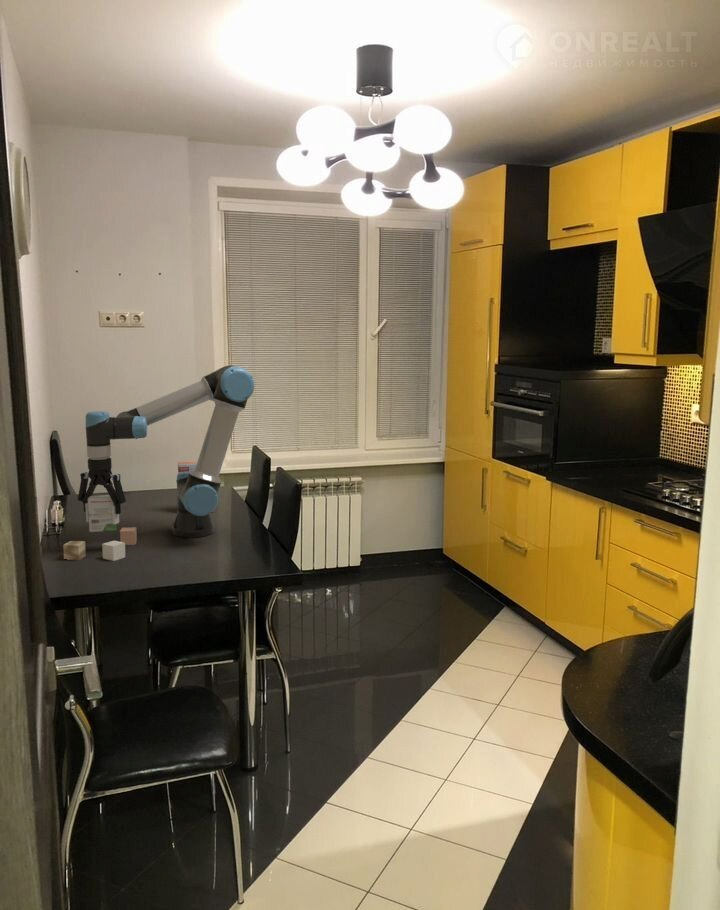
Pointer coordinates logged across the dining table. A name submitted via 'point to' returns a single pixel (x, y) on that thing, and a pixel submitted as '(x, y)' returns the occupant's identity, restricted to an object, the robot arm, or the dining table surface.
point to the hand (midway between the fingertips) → (102, 522)
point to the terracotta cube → (128, 536)
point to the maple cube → (74, 550)
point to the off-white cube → (113, 550)
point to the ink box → (100, 513)
